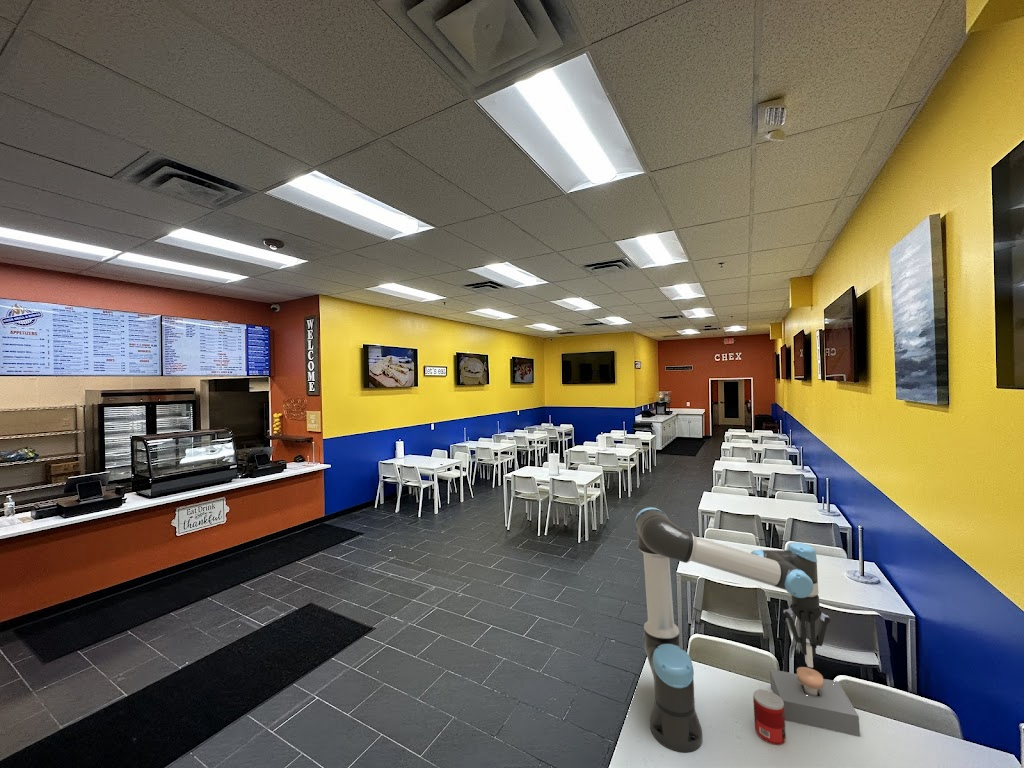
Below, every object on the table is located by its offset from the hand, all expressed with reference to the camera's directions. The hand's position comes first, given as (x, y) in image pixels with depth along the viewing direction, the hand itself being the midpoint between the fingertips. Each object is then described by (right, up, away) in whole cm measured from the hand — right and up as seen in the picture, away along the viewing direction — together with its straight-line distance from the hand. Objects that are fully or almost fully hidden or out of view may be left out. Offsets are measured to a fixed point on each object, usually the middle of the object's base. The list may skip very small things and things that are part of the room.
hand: (809, 664), depth 134 cm
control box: (0, -14, -1) cm, 14 cm away
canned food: (-19, -15, -10) cm, 26 cm away
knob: (0, -11, 0) cm, 11 cm away
